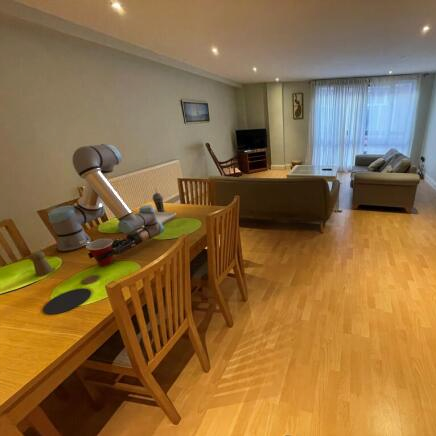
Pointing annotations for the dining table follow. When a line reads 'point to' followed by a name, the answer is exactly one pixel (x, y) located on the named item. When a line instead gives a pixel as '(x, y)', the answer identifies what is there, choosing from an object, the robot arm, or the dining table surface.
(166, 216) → the square plate
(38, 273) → the pepper shaker
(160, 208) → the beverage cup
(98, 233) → the dining table surface
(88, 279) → the cork coaster
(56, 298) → the slate mat
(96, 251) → the plastic cup
